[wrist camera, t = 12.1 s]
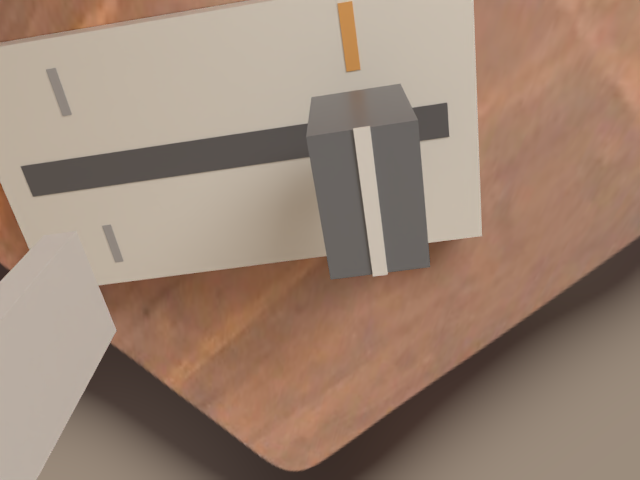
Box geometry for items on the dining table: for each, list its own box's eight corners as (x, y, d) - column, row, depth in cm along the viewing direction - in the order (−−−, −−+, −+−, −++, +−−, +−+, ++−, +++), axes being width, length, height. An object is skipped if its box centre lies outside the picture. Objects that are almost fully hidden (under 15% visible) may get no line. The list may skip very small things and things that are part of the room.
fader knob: (313, 81, 29) (305, 136, 21) (393, 68, 29) (418, 119, 20) (331, 194, 32) (330, 281, 24) (405, 184, 31) (430, 269, 23)
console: (-22, 46, 32) (-55, 55, 29) (459, -36, 30) (472, -34, 27) (67, 267, 38) (47, 292, 35) (470, 214, 36) (482, 236, 33)
